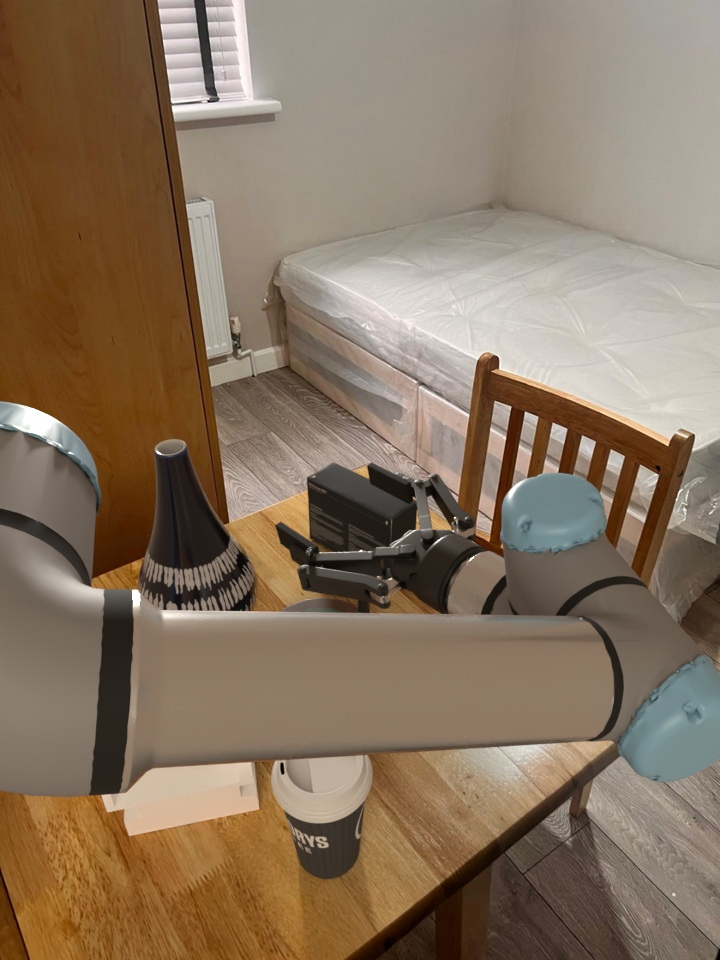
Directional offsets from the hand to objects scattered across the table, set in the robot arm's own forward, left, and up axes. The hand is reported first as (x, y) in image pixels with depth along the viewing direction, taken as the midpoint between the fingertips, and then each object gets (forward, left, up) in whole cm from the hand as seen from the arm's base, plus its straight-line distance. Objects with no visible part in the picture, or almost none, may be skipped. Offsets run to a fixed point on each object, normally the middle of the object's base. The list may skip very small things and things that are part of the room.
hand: (327, 501), depth 83 cm
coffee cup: (+12, -23, -26) cm, 37 cm away
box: (-7, +20, -26) cm, 34 cm away
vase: (-19, -4, -26) cm, 32 cm away
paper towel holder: (-2, -1, -25) cm, 26 cm away
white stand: (-4, -25, -26) cm, 36 cm away
